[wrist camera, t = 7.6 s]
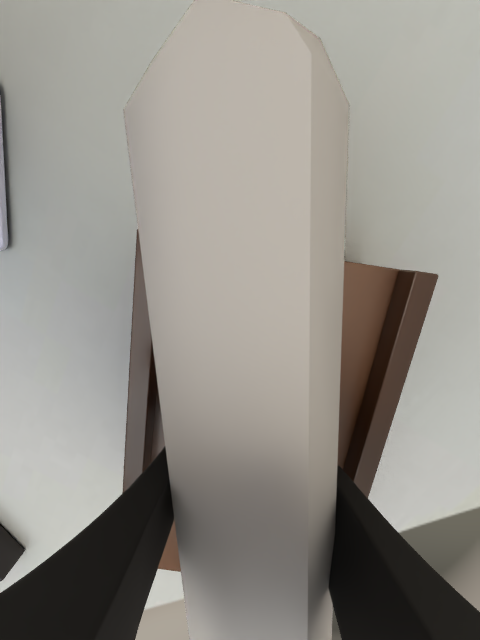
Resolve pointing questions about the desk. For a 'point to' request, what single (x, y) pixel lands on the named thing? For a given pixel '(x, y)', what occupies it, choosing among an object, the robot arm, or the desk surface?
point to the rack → (355, 377)
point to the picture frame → (8, 552)
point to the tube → (246, 309)
